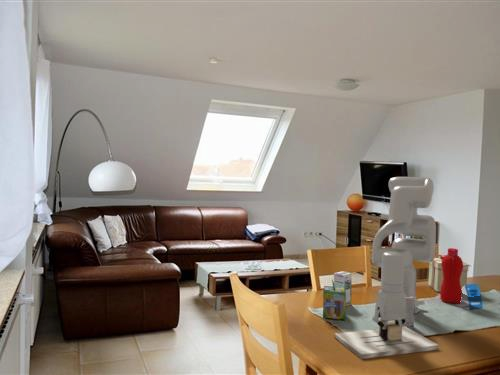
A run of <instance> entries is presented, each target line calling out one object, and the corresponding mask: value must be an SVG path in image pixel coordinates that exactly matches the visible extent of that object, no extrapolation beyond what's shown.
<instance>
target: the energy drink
mask: <svg viewBox="0 0 500 375" xmlns="http://www.w3.org/2000/svg"><path fill="white" fill-rule="evenodd" d="M405 298H406V312H407V314H408V315H409V318H408V319H407V320H406V321H405V323H404V324H403V325H402V327H404V326H405V327H407V328H409V329H411V330H413V329H414V327H415V314H414V312H415V298H414V296H411V295H405Z"/></svg>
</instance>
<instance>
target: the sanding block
mask: <svg viewBox="0 0 500 375" xmlns="http://www.w3.org/2000/svg"><path fill="white" fill-rule="evenodd" d="M383 323H384V322H383ZM378 329H379V336H380V327H379V326H378ZM386 329H387V341H388V342H390V343H395V342H402V327H400V326H399V325H397V324H395V322H394V321H393V320H392V321H388V323H387V327H386Z"/></svg>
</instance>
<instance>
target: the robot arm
mask: <svg viewBox="0 0 500 375" xmlns="http://www.w3.org/2000/svg"><path fill="white" fill-rule="evenodd" d="M434 187H435V186H434V181H433V179H431V178H429V177H423V176H422V177H419V176H416V177H415V176H395V177H391V178H390V179H389V180H388V189H389V192H390V200H389V210H388V218H387V222H386V223H385V224H383V225H382V226H381V227H380V228H379V229H378V231H377V232H376V234H375V236H374V237H373V240H372V241H373V242H372V248H371V249H372V250H371V263H372V264H373V265H374V266H375V267H377V268H381V273H380V274H381V276H380V289H378V290H377V291H378V292H377V296H376V301H375V309H374V315H373V317H372V318H371V319H372V321H373V322H375V323H376V324H377V326H378V328H379V327H380V337H381V338H382V339H383V340H385V341H387V329H386V327H387V323H388V321H392V322H393V323H395V324H397V325H399V326H400V327H402V325H403V324H404V323H405V321H406V320H407V319H408V318H409V315H408V314H407V312H406V298H405V295H411V296H414V298H415V312H414V315H415V314H417V313H419V311H420V308H419V307H418V306H425V303H426V302H425V300H418V299H416V295H417V292H416V291H417V269H416V267H415V266H414V264H413V262H421V263H429V262H432V261H433V260H434V258H436V245H437V244H436V239H437V238H436V237H437V236H436V234H437V232H436V231H437V226H436V221H435V218H434V217H433V216H432V215H427V214H418V209H428V207H430V205H431V203H432V198H433V194H434ZM396 233H397V234H399V235H400V236H406V237H399V238H396V239H394V240H393V241H392V244H391V247H384V246H383V247H382V242H383V241H384V240H385V239H386V238H387V237H388V236H390V235H393V234H396ZM409 237H413V238H409ZM420 238H421V239H420ZM383 322H384V323H383Z"/></svg>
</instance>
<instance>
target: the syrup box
mask: <svg viewBox="0 0 500 375" xmlns="http://www.w3.org/2000/svg"><path fill="white" fill-rule="evenodd" d="M352 279H353V278H352V273H351V272H349V271H342V270H341V271H338V272H334V273H333V282H334V286H337V287H345V290H346V307H347V306H350V305H351V306H352Z"/></svg>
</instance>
